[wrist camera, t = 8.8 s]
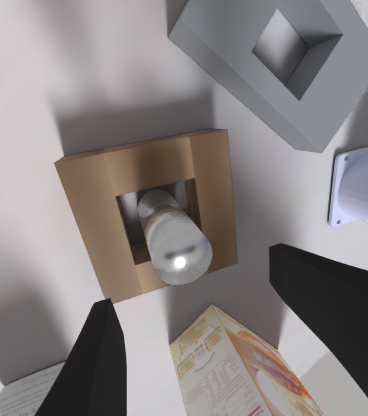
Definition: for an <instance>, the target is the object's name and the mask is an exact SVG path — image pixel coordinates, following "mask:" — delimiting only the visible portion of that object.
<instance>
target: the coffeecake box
mask: <svg viewBox="0 0 368 416" xmlns="http://www.w3.org/2000/svg"><path fill="white" fill-rule="evenodd" d="M169 348H170V352H171V355H172V359H173V363H174V367H175V371H176V374H177V378H178V382H179V386H180V390H181V394H182V398H183V402H184V406H185V410H186V414H187V416H325V415H324V414H323V412H322V411H321V410H320V408H319V407H318V406H317V404H316V403H315V402H314V400H313V399H312V397H311V396H310V395H309V393H308V392H307V390H306V389H305V388H304V386H303V385H302V384H301V382H300V381H299V380H298V378H297V377H296V375H295V374H294V373H293V371H292V370H291V368H290V367H289V366H288V364H287V363H286V362H285V360H284V359H283V357H282V356H281V354H280V353H279V351H278V350H277V349H275V348H274V347H273V346H271V345H270V344H269V343H267V342H266V341H264V340H263V339H261V338H260V337H259V336H257V335H256V334H254V333H253V332H252V331H250V330H249V329H247V328H246V327H244V326H243V325H242V324H240V323H239V322H237V321H236V320H234V319H233V318H232V317H230V316H229V315H227V314H226V313H224V312H223V311H222V310H220V309H219V308H217V307H216V306H214V305H213V304H211V305H210V306H209V307H208V308H207V309H206V310H205V311H204V312H203V313H202V314H201V315H200V316H199V317H198V318H197V319H196V320H195V321H194V323H193V324H192V325H191V326H190V327H189V328H187V329H186V330H185V331H184V332H183V333H182V334H181V335H180V336H179V337H178V338H176V339H175V340H174V341H173V342H172V343H171V344H170V346H169Z"/></svg>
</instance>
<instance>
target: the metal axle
mask: <svg viewBox="0 0 368 416" xmlns="http://www.w3.org/2000/svg"><path fill="white" fill-rule="evenodd" d="M138 215H139V218H140V221H141V225H142V228H143V232H144V235H145V239H146V242H147V246H148V249H149V253H150V256H151V260H152V263H153V266H154V270H155V272H156V274H157V276H158V277H159V278H160V279H161V280H163V281H164V282H166V283H169V284H173V285H183V284H187V283H190V282H193V281H195V280H196V279H198V278H199V277H200V276H202V275H203V274H204V273H205V271H206V270H207V269H208V267H209V265H210V263H211V260H212V247H211V244H210V242H209V241H208V239H207V238H206V237H205V236H204V235H203V233H202V232H201V231H200V230H199V228H198V227H197V226H196V225H195V224H194V222H193V221H192V220H191V219H190V218H189V216H188V215H187V214H186V213H185V211H184V210H183V209H182V208H181V207H180V205H179V204H178V203H177V202H176V200H175V199H174V198H173V197H172V196H171V195H170V194H169V193H168V192H166V191H164V190H152V191H149V192H147V193H146V194H144V195H143V196H142V197H141V199H140V201H139V203H138Z"/></svg>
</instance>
